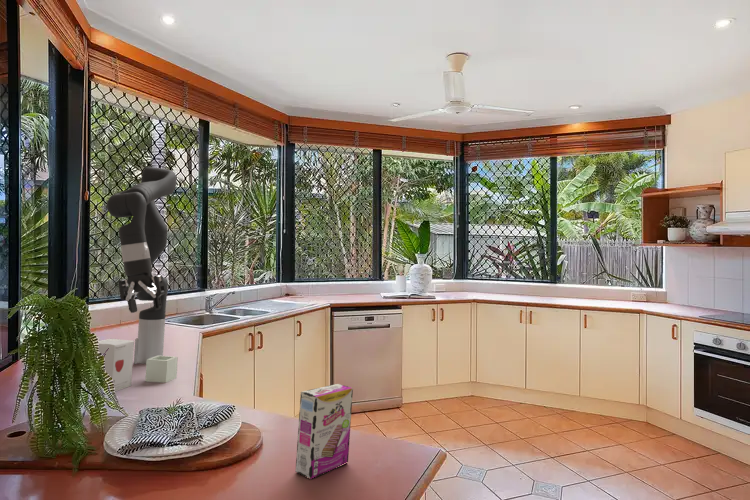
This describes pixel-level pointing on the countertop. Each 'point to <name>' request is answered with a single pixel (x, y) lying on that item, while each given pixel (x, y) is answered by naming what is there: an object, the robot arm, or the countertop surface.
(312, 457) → the candy bar box
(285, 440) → the countertop surface
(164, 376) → the stoneware open box
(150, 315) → the robot arm
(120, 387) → the supplement box
